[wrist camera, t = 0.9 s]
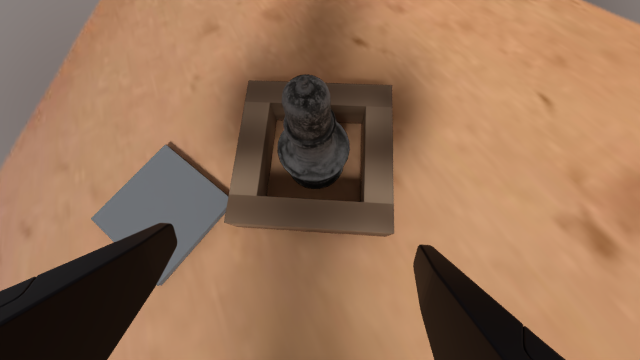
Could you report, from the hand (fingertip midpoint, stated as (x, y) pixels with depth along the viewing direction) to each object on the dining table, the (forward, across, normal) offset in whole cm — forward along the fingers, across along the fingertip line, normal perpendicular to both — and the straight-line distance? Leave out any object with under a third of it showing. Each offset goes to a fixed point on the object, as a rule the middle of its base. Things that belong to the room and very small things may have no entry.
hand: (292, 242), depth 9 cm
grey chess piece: (+15, +1, +3) cm, 16 cm away
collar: (+15, +1, +3) cm, 15 cm away
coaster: (+11, +14, +7) cm, 19 cm away
